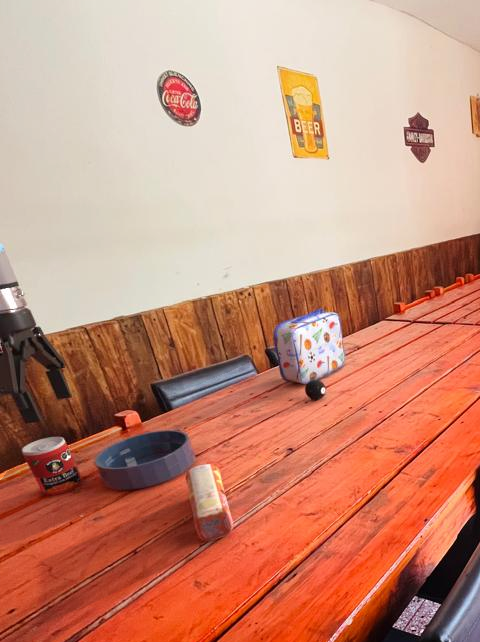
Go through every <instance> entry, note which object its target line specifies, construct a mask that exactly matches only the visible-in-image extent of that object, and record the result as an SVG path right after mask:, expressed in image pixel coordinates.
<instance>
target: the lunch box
mask: <svg viewBox="0 0 480 642" xmlns="http://www.w3.org/2000/svg"><path fill="white" fill-rule="evenodd" d="M272 337H273V344H274V349H275V353H276V358H277V363H278V368H279V373H280V377H281V379H282V380H283V381H284V382H287V383H288V382H294V383H299V384H302V385H303V384H304V385H306V384H307V383H308V382H310V381H312V380H319V379H321V378H323V377H326V376H329V375H330V374H331V373H333V372H334V371H336V370H338V369H340V368H341V367H343V366H344V364H345V361H346V352H345V346H344V340H343V339H344V338H343V331H342V323H341V318H340V316H339V313H336V312H331V311H330V312H329V311H324V309H323V308H316V309H315V310H314V311H312V312H310V313H307V314H304V315H301V316H297V317H294V318H291V319H288V320H284V321H283V322H280V323H279V324H278V325H276V326H275V327H274V329H273V332H272Z"/></svg>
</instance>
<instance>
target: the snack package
mask: <svg viewBox="0 0 480 642" xmlns="http://www.w3.org/2000/svg"><path fill="white" fill-rule="evenodd" d="M185 481H186V485H187V490H188V497H189V503H190V506H191V511H192V517H193V524H194V528H195V531H196V534H197V536H198V538H199V539H200V540H201V541H203V542H206V543H208V542H213V541H214V540H215V541H216V540H218V539H220V538H223V537H225V536H228V535H229V534H231V532H232V531H233V528H234V521H233V518H232V514H231V510H230V507H229V503H228V500H227V495H226V491H225V488H224V485H223V481H222V474H221V470H220V469H219V467H218V466H217V465H215V464H213V463H206V464H201V465H197V466H194V467H192V468H191V469H190V468H189V470H188V471H186V474H185Z"/></svg>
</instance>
